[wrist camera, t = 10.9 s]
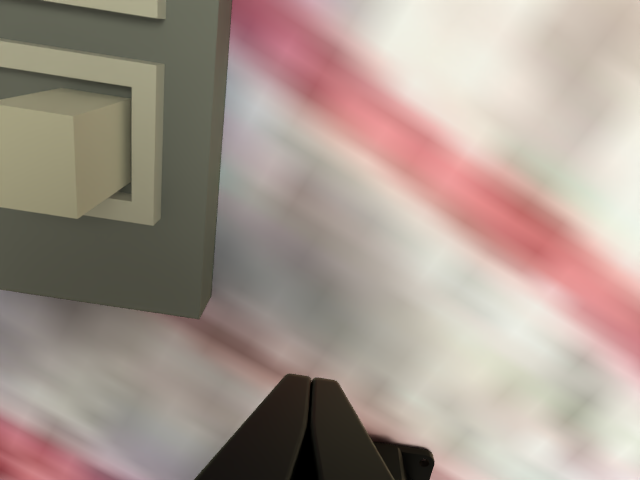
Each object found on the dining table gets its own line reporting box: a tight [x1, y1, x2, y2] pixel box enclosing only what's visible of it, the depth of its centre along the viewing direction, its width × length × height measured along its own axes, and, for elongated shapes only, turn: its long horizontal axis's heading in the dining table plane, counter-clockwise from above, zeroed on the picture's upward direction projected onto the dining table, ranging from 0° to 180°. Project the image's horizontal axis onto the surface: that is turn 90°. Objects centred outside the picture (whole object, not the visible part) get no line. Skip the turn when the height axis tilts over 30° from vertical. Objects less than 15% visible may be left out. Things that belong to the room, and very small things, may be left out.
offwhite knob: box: [0, 88, 131, 219], centre depth 16 cm, size 3×2×4 cm
